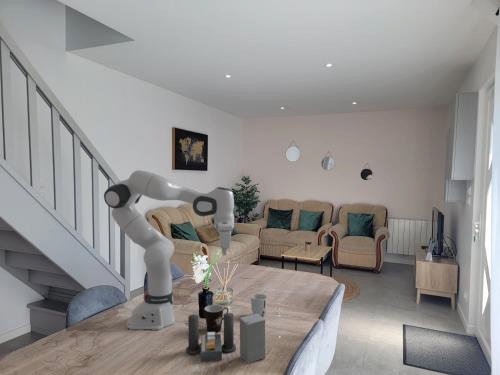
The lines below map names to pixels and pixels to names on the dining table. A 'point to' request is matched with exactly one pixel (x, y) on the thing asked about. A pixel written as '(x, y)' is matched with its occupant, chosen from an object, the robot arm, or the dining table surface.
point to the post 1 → (193, 335)
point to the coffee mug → (214, 317)
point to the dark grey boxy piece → (212, 353)
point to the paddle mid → (211, 339)
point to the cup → (259, 304)
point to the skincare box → (252, 338)
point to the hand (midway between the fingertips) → (224, 254)
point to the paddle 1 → (210, 334)
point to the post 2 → (228, 334)
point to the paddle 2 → (210, 345)
